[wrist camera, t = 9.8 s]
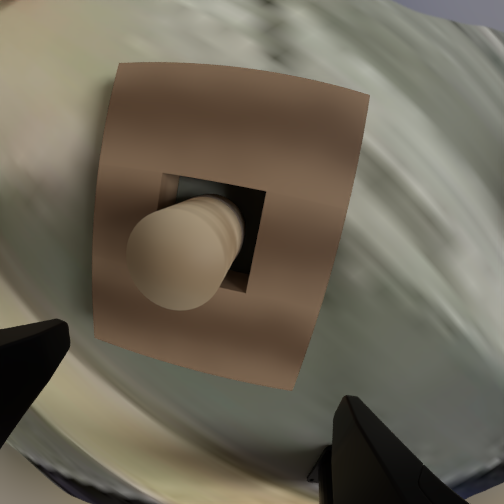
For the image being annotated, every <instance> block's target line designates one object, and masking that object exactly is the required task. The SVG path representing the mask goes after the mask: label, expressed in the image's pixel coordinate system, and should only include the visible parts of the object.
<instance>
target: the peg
mask: <svg viewBox="0 0 504 504" xmlns="http://www.w3.org/2000/svg"><path fill="white" fill-rule="evenodd" d="M245 234H246V225H245V220H244V217H243V215H242V213H241V211H240V209H239V208H238V207H237V206H236V205H235V204H234V203H233V202H232V201H231V200H229V199H228V198H226V197H223V196H221V195H217V194H205V195H200V196H195V197H192V198H189V199H187V200H185V201H184V202H181V203H178V204H175V205H172V206H170V207H167V208H164V209H161V210H159V211H156V212H153V213H151V214H149V215H147V216H146V217H144V218H143V219H142V220H141V221H140V222H139V223H138V224H137V225H136V226H135V227H134V229H133V231H132V232H131V234H130V237H129V239H128V243H127V249H126V260H127V266H128V270H129V273H130V276H131V278H132V280H133V282H134V283H135V285H136V287H137V288H138V289H139V290H140V292H141V293H142V294H143V295H144V296H145V297H146V298H148V299H149V300H150V301H152V302H153V303H155V304H157V305H159V306H161V307H164V308H167V309H171V310H179V311H181V310H190V309H194V308H197V307H199V306H201V305H203V304H204V303H206V302H207V301H209V300H210V299H211V298H212V297H213V296H214V294H215V293H216V292H217V290H218V288H219V286H220V285H221V283H222V281H223V279H224V277H225V275H226V274H227V272H228V270H229V268H230V266H231V264H232V262H233V261H234V259H235V258H236V257H237V255H238V253H239V252H240V249H241V247H242V244H243V242H244V239H245Z"/></svg>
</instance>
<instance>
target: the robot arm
mask: <svg viewBox="0 0 504 504" xmlns="http://www.w3.org/2000/svg"><path fill="white" fill-rule="evenodd" d="M69 348H70V336H69V327H68V324H67V323H66V322H65V321H62V320H60V319H52V320H47V321H42V322H37V323H32V324H27V325H21V326H16V327H11V328H5V329H0V449H1V447H2V445H3V444H4V443H5V441H6V440H7V438H8V437H9V435H10V434H11V432H12V431H13V430H14V428H15V427H16V425H17V424H18V422H19V421H20V420H21V418H22V417H23V415H24V414H25V413H26V411H27V410H28V409H29V407H30V406H31V404H32V403H33V402H34V400H35V399H36V398H37V396H38V395H39V394H40V392H41V391H42V390H43V388H44V387H45V386H46V384H47V383H48V382H49V380H50V379H51V377H52V376H53V374H54V372H55V371H56V369H57V367H58V366H59V364H60V363H61V361H62V359H63V358H64V356H65V355H66V353H67V352H68V350H69ZM307 481H308V482H314V483H319V504H469V503H468V502H467V501H465V500H464V499H463V498H462V497H460V496H459V495H458V494H456V493H455V492H454V491H453V490H451V489H450V488H449V487H448V486H447V485H445V484H444V483H443V482H442V481H441V480H440V479H439V478H438V477H436V476H435V475H434V474H433V473H432V472H431V471H430V470H429V469H428V468H427V467H426V466H425V465H423V463H422V462H421V461H420V460H419V459H418V458H417V457H416V456H415V455H414V454H413V453H412V452H411V451H410V450H409V449H408V448H407V447H406V446H405V445H404V444H403V443H402V442H401V441H400V440H399V439H398V438H397V437H396V436H395V435H394V434H393V433H392V432H391V431H390V430H389V428H388V427H387V426H386V425H385V424H384V423H383V422H382V421H381V420H380V419H379V418H378V417H377V416H376V415H375V414H374V413H373V412H372V411H371V410H370V409H369V408H368V407H367V406H366V405H365V404H364V403H363V402H362V401H361V399H360V398H358V397H357V396H350V395H346V396H344V397H343V398H342V400H341V402H340V404H339V406H338V408H337V410H336V412H335V414H334V418H333V437H332V446H329V447H327V448H325V450H324V452H323V453H322V455H321V456H320V458H319V460H318V461H317V463H316V464H315V466H314V467H313V469H312V470H311V472H310V473H309V475H308V476H307Z"/></svg>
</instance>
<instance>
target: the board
mask: <svg viewBox="0 0 504 504" xmlns="http://www.w3.org/2000/svg"><path fill="white" fill-rule="evenodd" d="M369 98H370V95H368V94H364V93H361V92H358V91H354V90H351V89H347V88H343V87H340V86H336V85H332V84H328V83H324V82H319V81H315V80H311V79H306V78H301V77H296V76H291V75H286V74H280V73H274V72H268V71H262V70H255V69H248V68H240V67H231V66H221V65H210V64H195V63H171V62H137V63H119V66H118V69H117V73H116V77H115V81H114V85H113V90H112V94H111V98H110V103H109V108H108V113H107V118H106V123H105V129H104V134H103V140H102V147H101V154H100V161H99V168H98V177H97V186H96V196H95V208H94V223H93V244H92V299H93V320H94V335H95V338H97V339H100V340H102V341H105V342H108V343H110V344H113V345H116V346H119V347H122V348H124V349H127V350H130V351H133V352H136V353H139V354H142V355H145V356H148V357H152V358H155V359H158V360H161V361H165V362H168V363H171V364H175V365H178V366H182V367H185V368H189V369H193V370H197V371H200V372H204V373H208V374H212V375H216V376H220V377H225V378H229V379H233V380H238V381H243V382H247V383H252V384H257V385H262V386H267V387H273V388H278V389H284V390H290V391H292V390H293V387H294V385H295V382H296V379H297V377H298V374H299V371H300V368H301V365H302V362H303V360H304V357H305V354H306V351H307V348H308V345H309V342H310V339H311V336H312V333H313V330H314V327H315V324H316V321H317V317H318V314H319V311H320V308H321V305H322V301H323V298H324V295H325V291H326V288H327V285H328V281H329V278H330V274H331V271H332V267H333V263H334V260H335V256H336V252H337V249H338V245H339V241H340V237H341V233H342V229H343V225H344V221H345V217H346V213H347V209H348V205H349V201H350V196H351V192H352V187H353V183H354V178H355V174H356V169H357V164H358V159H359V154H360V149H361V144H362V139H363V133H364V128H365V122H366V116H367V110H368V104H369ZM180 176H186V177H192V178H198V179H204V180H210V181H215V182H221V183H226V184H232V185H237V186H242V187H247V188H252V189H257V190H262V191H267V192H266V197H265V201H264V206H263V211H262V216H261V221H260V226H259V231H258V236H257V241H256V246H255V251H254V256H253V261H252V266H251V271H250V274H245V273H241V272H236V271H231V270H228V272H227V274H226V275H225V277H224V279H223V281H222V283H221V285H220V286H219V288H218V290H217V292H216V293H215V294H214V296H213V297H212V298H211V299H210V300H209V301H207V302H206V303H204V304H203V305H201V306H199V307H197V308H194V309H190V310H181V311H179V310H171V309H167V308H164V307H161V306H159V305H157V304H155V303H153V302H152V301H150V300H149V299H148V298H146V297H145V296H144V295H143V294H142V293H141V292H140V290H139V289H138V288H137V287H136V285H135V283H134V282H133V280H132V278H131V276H130V273H129V270H128V266H127V260H126V249H127V243H128V239H129V237H130V234H131V232H132V231H133V229H134V227H135V226H136V225H137V224H138V223H139V222H140V221H141V220H142V219H143V218H144V217H146V216H147V215H149V214H151V213H153V212H156V211H159V210H161V209H164V208H167V207H170V206H172V205H175V204H176V197H177V190H178V184H179V177H180Z"/></svg>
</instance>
